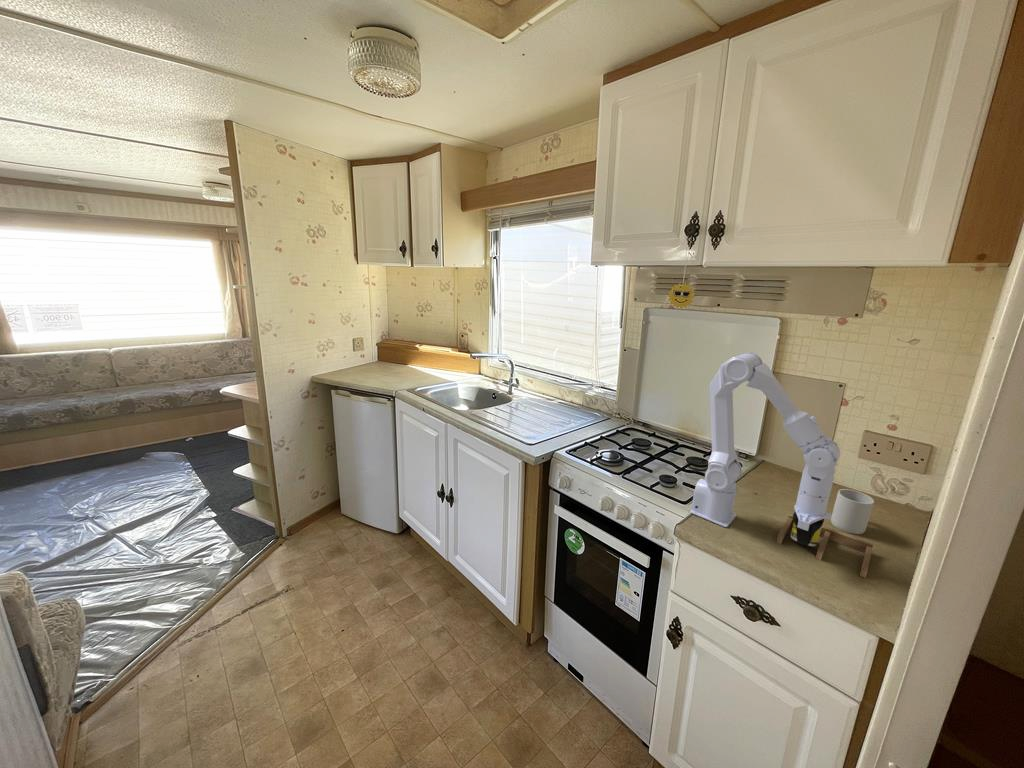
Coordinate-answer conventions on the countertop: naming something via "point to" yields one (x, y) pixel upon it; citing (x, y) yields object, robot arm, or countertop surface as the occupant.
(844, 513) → the cup
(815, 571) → the countertop surface
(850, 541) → the rack
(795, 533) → the supplement bottle
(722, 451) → the robot arm
